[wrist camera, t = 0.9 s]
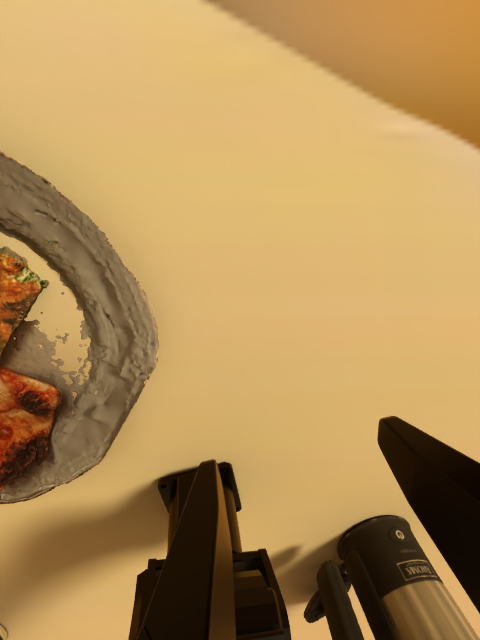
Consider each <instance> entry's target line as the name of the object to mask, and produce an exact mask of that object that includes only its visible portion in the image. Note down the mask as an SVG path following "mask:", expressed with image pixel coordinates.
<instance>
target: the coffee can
mask: <svg viewBox="0 0 480 640" xmlns="http://www.w3.org/2000/svg"><path fill="white" fill-rule="evenodd" d="M7 638H8V634H7V631H6V630H5V628H4V627H3V626H2V625H1V624H0V640H7Z"/></svg>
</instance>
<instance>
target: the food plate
mask: <svg viewBox="0 0 480 640" xmlns="http://www.w3.org/2000/svg"><path fill="white" fill-rule="evenodd" d="M44 179H45V178H42V176H41V177H40V176H38V175H36V174H35V173H33V172H32V170H30V169H28V168H27V167H26V166H22V165H21V164H19V163H18V162H17V161H15V160H13V158H11V157H9V156H7V155H5V154H4V153H3V152H0V232H2V233H4V234H5V235H7V236H9V237H13V238H16V239H18V240H19V241H22V242H24V243H25V244H26V245H27V246H28V247H30V248H31V249H32V250H33V251H34V252H35V253H36V254H38V255H39V256H41V257H42V258H44V259H45V261H46V260H47V261H48V263H47V265H48V266H49V267H50V268H51V269H53V270H55V271H57V272H59V273H60V274H61V276H60V281H61V282H63V283H64V284H63V285H65V286H67V287H69V288H71V289H72V290H73V292H74V294H75V296H76V298H77V301H76V302H77V304H78V306H77V309H78V310H82V309H83V312H84V317H85V319H86V320H85V321H81V323H82V324H81V326H80V327H82V329H83V330H81V331H80V333H81V334H82V335H81V339H83V340H84V339H86V338H87V336H89V337H90V338H91V343H90V347H88V357H87V358H86V359H85V360H84V362H85V364H84V365H83V366H82V367H80V369H79V372H78V373H82V375H83V374H84V371H83V368H85V367H87V364H86V362H87V361H90V362H91V363H92V367H91V369H90V372H89V373H88V374H89V377H90V378H89V379H88V380H86V379H85V378H86V377H87V376H85V375H83V376H84V377H85V378H84V379H83V381H84V383H83V384H82V385H79V384H78V382H79V381H80V378H79V376H80V374H79V375H78V376H76V377H73V376H71V375H75V374H76V373H77V372H75V371H73V372H69V374H70V375H69V377H70V379H71V380H72V381H73V384H71V385H66V384H65V383H66V380H65V379H64V378H63V377H62V376H61V375H64V374H68V373H67V372H63V371H61V370H60V369H59V367H57V366H54V365H52V364H51V361H53V362H55V363H57V364H58V366H61V365H63V364H64V362H63V361H62V360H61V359H58V360H55V361H54V359H52V358H51V356H52V355H55V349H54V347H55V346H56V343H55V342H51V341H49V340H48V339H46V337H47V335H46V334H44V333H42V332H40V331H39V330H38V329H37V328H36V327H35V326H34V325H38V324H40V322H39V321H38V320H34V321H24V318H26V317H27V314H28V312H29V311H30V309H31V307H32V305H33V304H34V303H35V301H36V299H37V297H38V295H39V294H40V293H41V292H42V290H43V288H47V285H48V284H49V283H50V282H49V281H47V280H45V281H44V280H41V279H40V278H39V277H38V275H37V274H35V273H34V272H32V271H31V270H30V269H29V268H28V265H27V260H26V258H24V257H21V256H20V255H18V254H17V253H16V252H14V251H12V250H10V249H9V248H8V247H3V248H2V249H1V248H0V504H9V503H16V502H20V501H27V500H30V499H33V498H36V497H38V496H40V495H42V494H44V493H46V491H47V492H48V491H51V490H52V489H54V488H55V487H56V486H59V485H61V484H64V483H66V484H68V483H69V482H71V481H72V480H74V479H76V478H78V476H80V475H83V473H85V472H86V471H88V470H89V469H91V468H92V467H94V466H96V465H98V464H99V463H100V462H101V461H102V459H103V457H104V456H105V455H106V452H108V450H109V448H110V446H111V444H112V443H113V441H114V439H115V437H116V436H117V434H118V432H119V431H120V429H121V427H122V424H123V423H124V422H125V420H126V418H127V417H128V415H129V413H130V410H131V409H132V408H133V406H134V404H135V403H136V402H137V399H138V398H139V395H140V394H141V391H142V389H143V388H144V386H145V384H144V383H143V382H144V381H145V380H146V379H149V373H151V372H153V370H154V369H155V367H156V364H157V361H158V346H159V345H158V344H159V343H158V339H157V334H158V333H157V327H156V324H155V323H156V322H155V317H154V314H153V311H152V309H151V307H150V305H149V303H148V300H147V297H146V293H145V292H144V290H142V289H141V288H140V285H138V283H139V282H137V280H136V278H135V277H134V276H133V275H134V274H133V273H132V272H129V271H128V269H127V268H126V267H125V266H124V265H123V263H122V262H121V260H120V259H121V258H120V257H119V256H118V254H117V253H116V252H115V249H113V248H112V245H110V244H109V242H108V241H107V240H108V239H107V238H106V236H105V233H103V232H101V231H100V230H99V229H98V228H99V227H98V226H96V225H95V224H94V223H92V220H91V219H90V218H89V217H88V216H87V215H86V214H84V213H83V212H81V211H80V210H79V209H78V208H77V207H76V206H75V205H74V204H73V203H72V201H71V200H68V199H67V198H66V197H64V195H62V194H61V193H60V192H58V190H56V188H55V187H54V186H51V185H52V184H51V183H50V182H48V181H47V180H46V179H45V180H46V181H45V180H44ZM49 183H50V184H51V185H50V184H49ZM61 294H65V293H64V292H62V293H61ZM41 314H43V312H41ZM38 328H39V327H38ZM56 330H57V329H56ZM37 334H38V335H37ZM65 335H66V336H68V335H69V334H68V333H66V334H65ZM66 336H65V337H61V336H56V338H60V339H61V338H62V340H63V343H64V344H65V341H67V340H68V339H67V337H66ZM14 337H15V338H16V339H15V340H14ZM55 341H56V340H55ZM56 342H57V341H56ZM60 343H61V342H60ZM39 344H41V345H44V346H42V347H43V348H40V347H39V346H38V345H39ZM79 346H80V347H81V346H83V345H79ZM84 346H87V345H84ZM15 348H16V349H15ZM78 360H79V362H80V361H81V360H82V358H79V357H78ZM153 368H154V369H153ZM152 369H153V370H152ZM50 374H51V375H50ZM96 390H97V391H98V393H97V394H96V395H95V394H94V392H95V391H96ZM73 391H74V392H76V393H77V396H76V398H75V401H74V399H73V398H74V396H72V394H73V393H72V392H73Z"/></svg>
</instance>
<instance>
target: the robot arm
mask: <svg viewBox="0 0 480 640" xmlns="http://www.w3.org/2000/svg"><path fill="white" fill-rule="evenodd" d="M378 444H379V447H380V449H381V451H382V453H383V455H384V457H385V459H386V461H387V463H388V465H389V467H390V468H391V470H392V472H393V474H394V476H395V478H396V480H397V482H398V484H399V486H400V488H401V490H402V492H403V494H404V495H405V497H406V499H407V501H408V503H409V504H410V506H411V508H412V509H413V511H414V512H415V514H416V516H417V517H418V519H419V520H420V522H421V523H422V525H423V526H424V528H425V529H426V531H427V533H428V534H429V536H430V537H431V539H432V540H433V542H434V543H435V545H436V547H437V548H438V550H439V551H440V553H441V554H442V556H443V557H444V559H445V561H446V562H447V564H448V565H449V567H450V568H451V570H452V571H453V573H454V574H455V576H456V578H457V579H458V581H459V582H460V584H461V585H462V587H463V588H464V590H465V592H466V593H467V595H468V596H469V598H470V599H471V601H472V602H473V604H474V606H475V607H476V609H477V610H478V612H479V613H480V463H479V462H477V461H475V460H473V459H471V458H470V457H468V456H466V455H464V454H462V453H461V452H459V451H457V450H455V449H454V448H452V447H450V446H448V445H446V444H445V443H443V442H441V441H439V440H437V439H436V438H434V437H432V436H430V435H428V434H427V433H425V432H423V431H421V430H420V429H418V428H416V427H414V426H412V425H411V424H409V423H407V422H405V421H403V420H402V419H400V418H398V417H396V416H390V417H385V418H382V419H380V421H379V427H378ZM158 489H159V492H160V494H161V496H162V499H163V501H164V503H165V506H166V508H167V510H168V513H169V528H168V550H167V557H166V559H162V560H156V559H149V560H148V569H145V571H144V572H142V573H140V574H139V575H137V584H136V592H135V601H134V608H133V614H132V620H131V627H130V633H129V639H128V640H291V633H290V625H289V620H288V615H287V610H286V607H285V603H284V600H283V597H282V594H281V591H280V589H279V586H278V583H277V580H276V577H275V574H274V571H273V568H272V566H271V563H270V560H269V557H268V554H267V551H266V549H258V551H248V552H242V547H241V540H240V534H239V527H238V521H237V514H236V512H238V511H240V510H241V508H242V507H241V502H240V498H239V493H238V489H237V485H236V481H235V477H234V472H233V468H232V465H231V464H230V463H224V464H220V465H217V462H216V460H214V459H212V460H208V461H204V462H201V463H200V465H199V467H198V470H195V471H191V472H187V473H183V474H179V475H175V476H171V477H166V478H162V479H160V480H159V481H158Z"/></svg>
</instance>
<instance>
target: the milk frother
mask: <svg viewBox="0 0 480 640" xmlns="http://www.w3.org/2000/svg"><path fill="white" fill-rule="evenodd" d="M338 556H339V558H340V559H341V560H343V562H344V563H343V564H341V565H340V566H339V567H338V566H337V565H336V564H335V563H334V562H333V561H330V560H329V561H325V562H324V563H323V564H322V566H321V567H320V569H319V571H318V573H317V577H316V579H317V584H318V588H319V589H318V590H317V592H316V593H315V594H314V595H313V597H312V598H311V600H310V601H309V603H308V604H307V607H306V609H305V611H304V618H305V619H306V621H307V622H309V623H311V622H312V623H313V622H315V621H318V620H319V619H321V618H322V617H324V616H326V618H327V621H328V625H329V629H330V633H331V636H332V640H364V638H363V635H362V632H361V629H360V626H359V624H358V621H357V618H356V615H355V613H354V610H353V608H352V605H351V601H350V598H349V596H348V593H347V592H349V589H350V587H351V584H352V586H353V588H354V590H355V592H356V595H357V597H358V599H359V602H360V604H361V607H362V609H363V611H364V613H365V616H366V618H367V621H368V623H369V626H370V628H371V630H372V633H373V635H374V638H375V640H480V639H479V637H478V636H477V634H476V633H475V631H474V630H473V628H472V626H471V625H470V623H469V622H468V620H467V619H466V617H465V616H464V614H463V613H462V611H461V610H460V608H459V606H458V605H457V603H456V602H455V600H454V599H453V597H452V596H451V594H450V593H449V591H448V590H447V588H446V587H445V586H444V584H443V582H442V580H441V579H440V577H439V576H438V574H437V573H436V571H435V570H434V568H433V566H432V565H431V563H430V562H429V560H428V558H427V557H426V555H425V553H424V552H423V550H422V548H421V547H420V545H419V543H418V542H417V540H416V538H415V537H414V535H413V533H412V531H411V528H410V525H409V523H408V522H407V521H406V520H405V519H404V518H401V517H398V516H382V517H378V518H375V519H372V520H368V521H367V522H364V523H362V524H360V525H359V526H357V527H356V528H354V529H353V530H351V531H350V532H349V533H348V534H347V535H345V536H344V538H343V539H342V541H341V542H340V544H339V546H338ZM344 570H346V572H347V574H346V573H342V572H343V571H344Z"/></svg>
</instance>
